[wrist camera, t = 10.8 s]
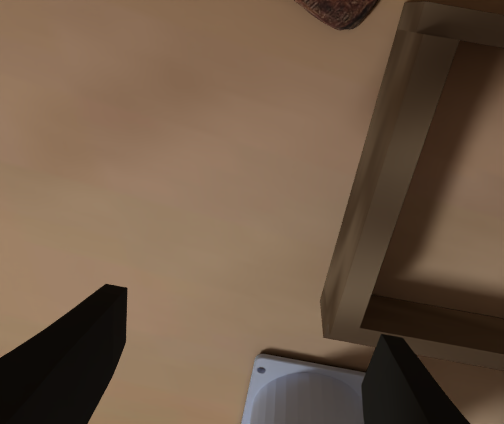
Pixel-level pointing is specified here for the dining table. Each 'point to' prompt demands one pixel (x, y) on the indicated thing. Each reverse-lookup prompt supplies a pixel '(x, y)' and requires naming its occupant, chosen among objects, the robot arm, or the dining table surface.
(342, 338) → the rack
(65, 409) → the robot arm
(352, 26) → the wooden tablet
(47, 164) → the dining table surface
